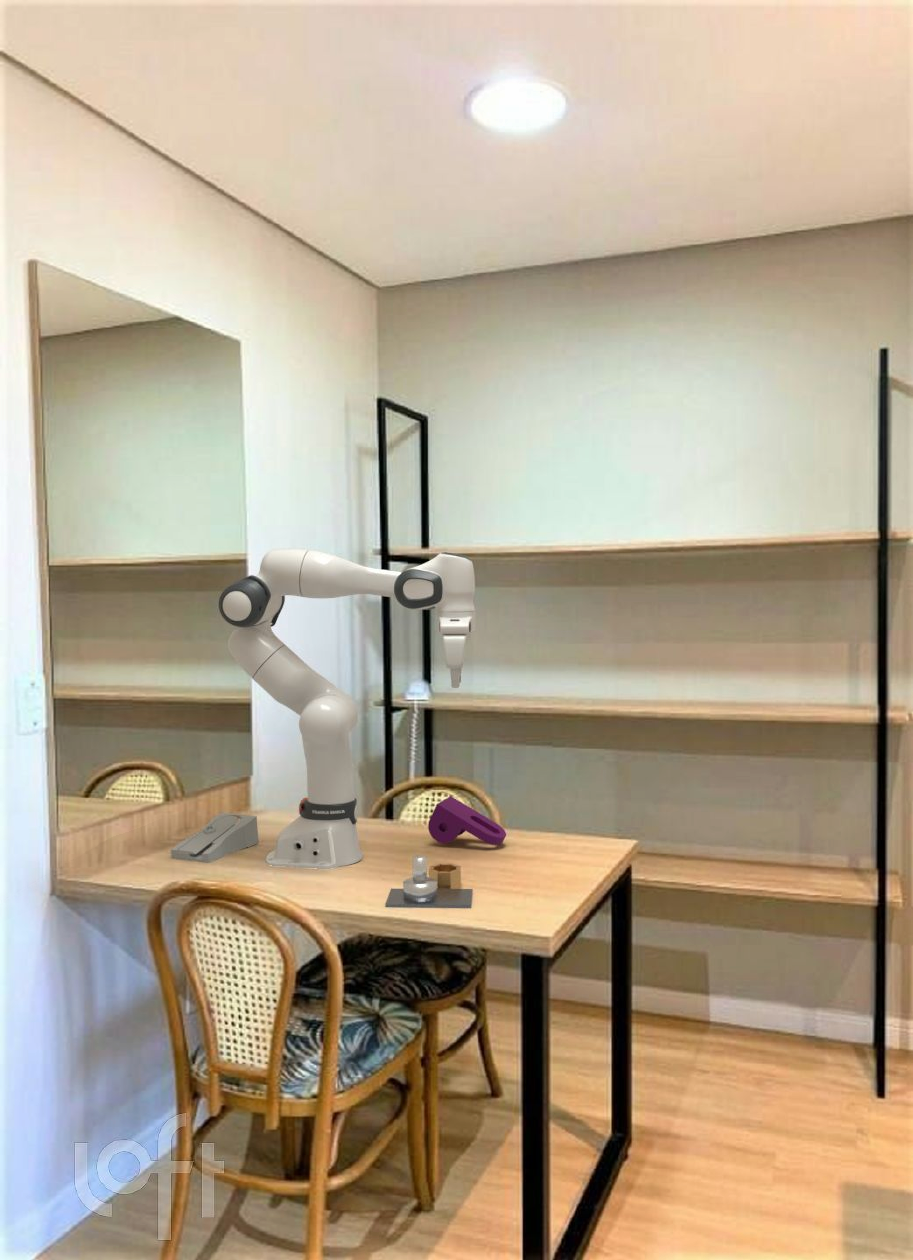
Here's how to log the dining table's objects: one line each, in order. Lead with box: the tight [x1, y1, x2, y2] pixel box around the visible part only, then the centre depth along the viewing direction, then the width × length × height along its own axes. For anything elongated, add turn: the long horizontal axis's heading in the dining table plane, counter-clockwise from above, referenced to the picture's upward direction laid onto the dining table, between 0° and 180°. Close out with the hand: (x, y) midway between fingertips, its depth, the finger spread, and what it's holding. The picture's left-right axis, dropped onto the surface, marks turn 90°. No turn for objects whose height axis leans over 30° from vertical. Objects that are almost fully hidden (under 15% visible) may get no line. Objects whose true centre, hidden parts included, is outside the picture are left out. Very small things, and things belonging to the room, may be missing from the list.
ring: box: [428, 863, 462, 889], centre depth 207 cm, size 7×7×4 cm
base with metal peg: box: [384, 855, 474, 909], centre depth 198 cm, size 17×10×9 cm, turn 87°
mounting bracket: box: [427, 795, 507, 846], centre depth 244 cm, size 9×8×18 cm
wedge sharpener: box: [170, 812, 260, 864], centre depth 239 cm, size 11×20×7 cm, turn 157°
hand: (456, 685), depth 222 cm, fingers open, 8 cm apart
